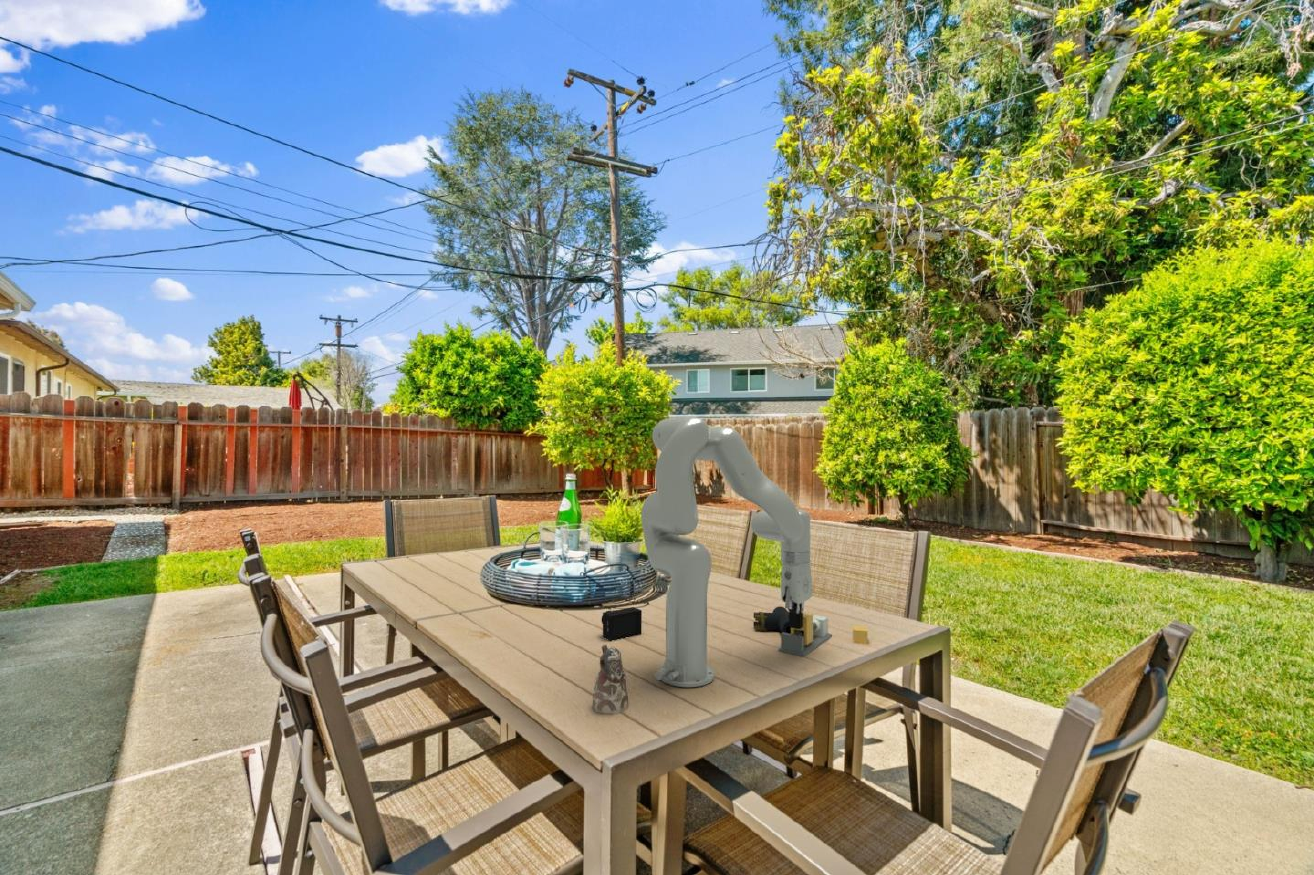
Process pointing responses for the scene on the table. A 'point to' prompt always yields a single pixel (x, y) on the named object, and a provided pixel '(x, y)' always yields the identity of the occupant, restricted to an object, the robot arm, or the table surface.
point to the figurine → (610, 684)
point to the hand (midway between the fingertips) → (795, 627)
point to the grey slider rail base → (796, 640)
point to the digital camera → (622, 623)
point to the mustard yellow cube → (859, 634)
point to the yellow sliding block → (806, 628)
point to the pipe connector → (773, 620)
